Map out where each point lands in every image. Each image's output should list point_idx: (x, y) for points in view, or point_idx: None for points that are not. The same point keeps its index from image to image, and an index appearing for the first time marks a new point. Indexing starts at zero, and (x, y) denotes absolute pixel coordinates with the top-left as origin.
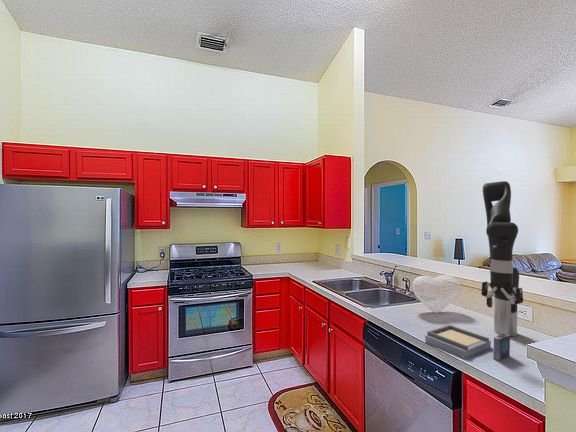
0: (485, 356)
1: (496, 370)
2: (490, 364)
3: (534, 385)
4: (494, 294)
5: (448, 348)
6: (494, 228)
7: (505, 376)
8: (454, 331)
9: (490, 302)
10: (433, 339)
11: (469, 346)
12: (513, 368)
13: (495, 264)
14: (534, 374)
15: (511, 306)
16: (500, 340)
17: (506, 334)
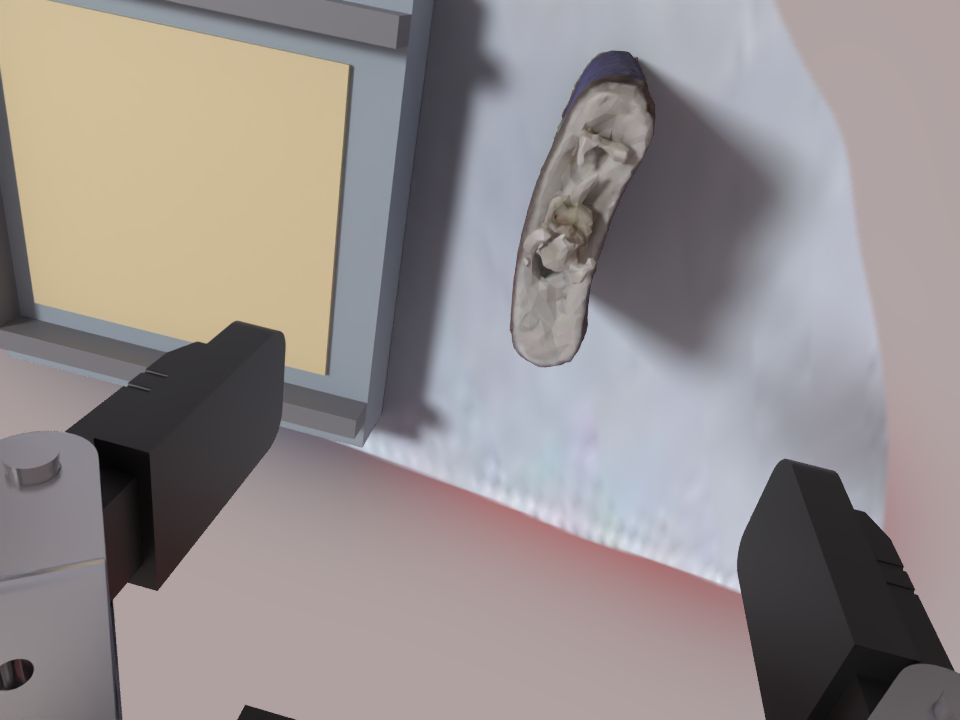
0: (475, 256)
1: (607, 450)
2: (549, 383)
3: (853, 501)
4: (107, 573)
5: None
6: None
7: (673, 497)
8: (45, 19)
9: (218, 470)
10: (91, 372)
11: (342, 323)
12: (705, 330)
13: None
14: (862, 324)
15: (776, 698)
16: (582, 338)
17: (615, 161)
